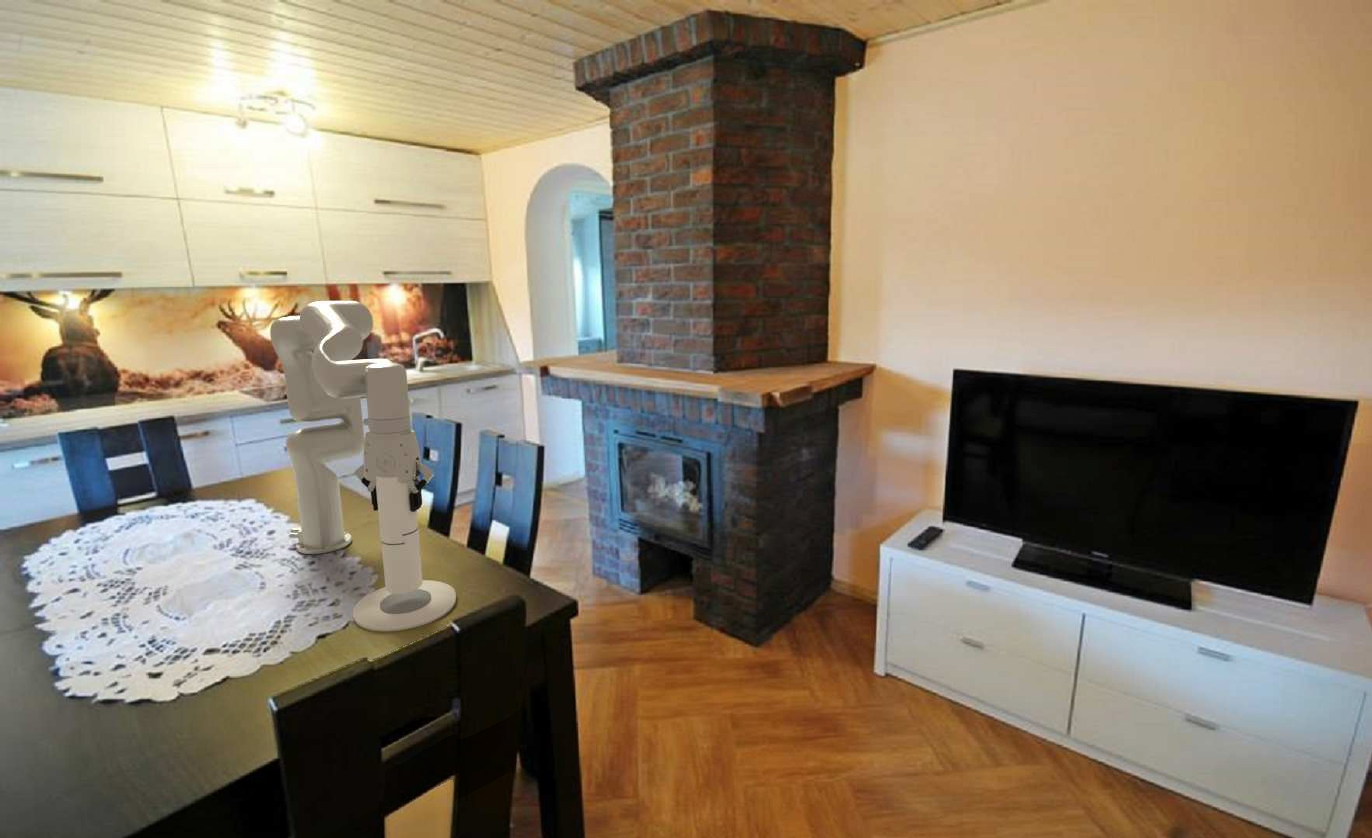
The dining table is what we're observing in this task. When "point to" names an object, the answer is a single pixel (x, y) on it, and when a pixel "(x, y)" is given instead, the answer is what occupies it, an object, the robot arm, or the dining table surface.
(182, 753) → the dining table surface
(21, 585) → the dining table surface
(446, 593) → the plate
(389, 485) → the cylindrical container
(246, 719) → the dining table surface
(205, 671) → the dining table surface
